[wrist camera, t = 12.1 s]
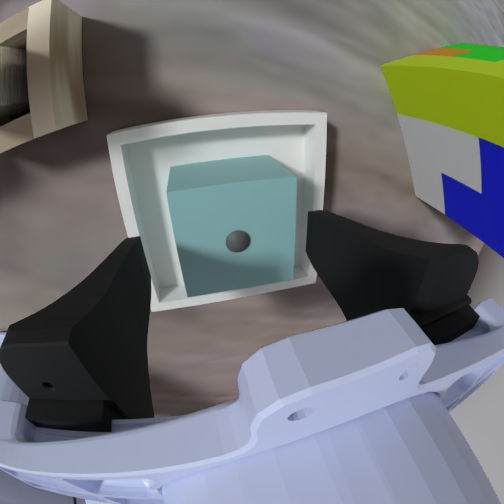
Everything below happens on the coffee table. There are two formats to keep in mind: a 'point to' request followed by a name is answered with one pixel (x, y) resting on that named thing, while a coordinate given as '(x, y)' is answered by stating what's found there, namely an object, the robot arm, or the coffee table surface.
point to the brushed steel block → (13, 81)
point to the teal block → (233, 223)
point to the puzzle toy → (455, 132)
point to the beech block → (46, 70)
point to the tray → (208, 149)
